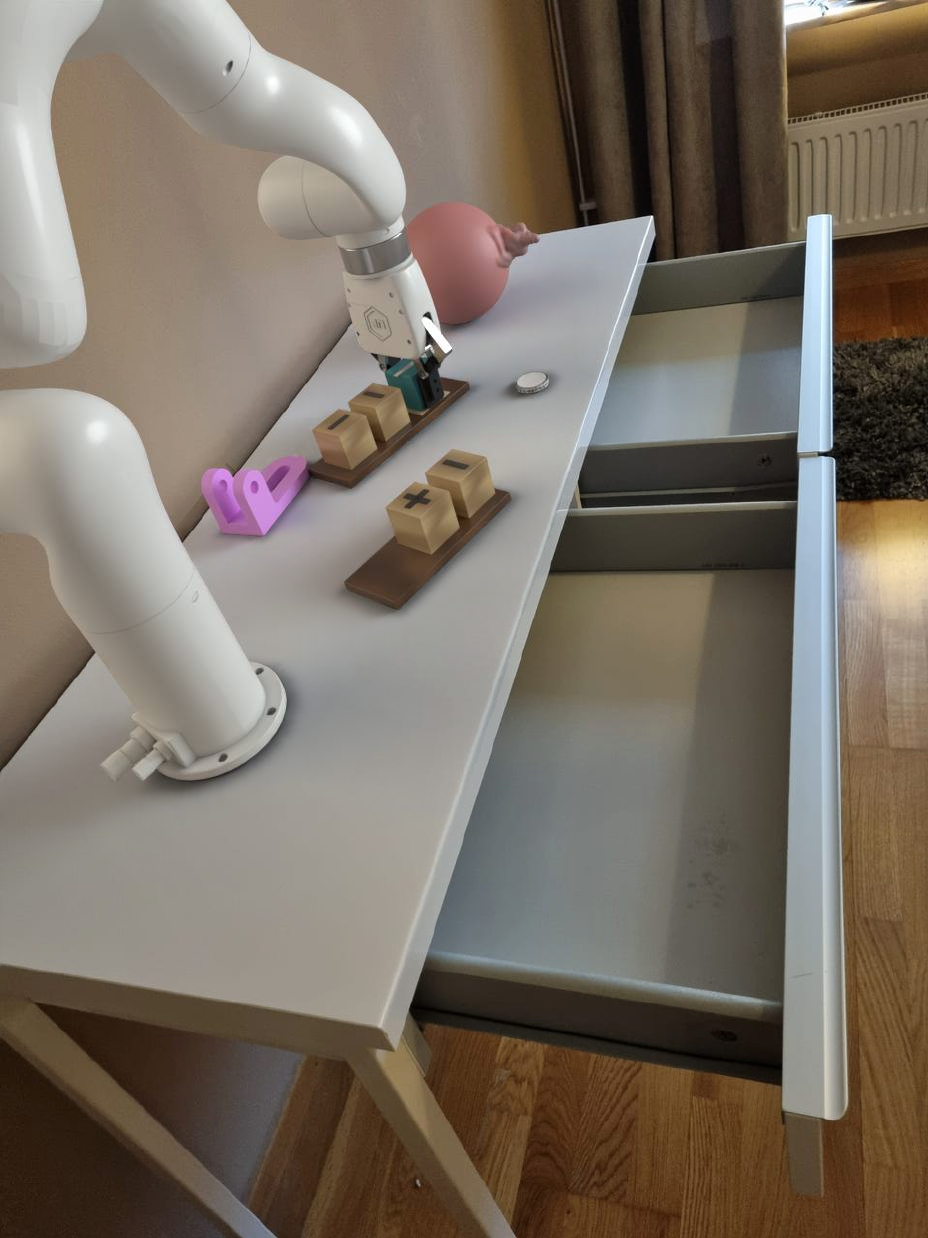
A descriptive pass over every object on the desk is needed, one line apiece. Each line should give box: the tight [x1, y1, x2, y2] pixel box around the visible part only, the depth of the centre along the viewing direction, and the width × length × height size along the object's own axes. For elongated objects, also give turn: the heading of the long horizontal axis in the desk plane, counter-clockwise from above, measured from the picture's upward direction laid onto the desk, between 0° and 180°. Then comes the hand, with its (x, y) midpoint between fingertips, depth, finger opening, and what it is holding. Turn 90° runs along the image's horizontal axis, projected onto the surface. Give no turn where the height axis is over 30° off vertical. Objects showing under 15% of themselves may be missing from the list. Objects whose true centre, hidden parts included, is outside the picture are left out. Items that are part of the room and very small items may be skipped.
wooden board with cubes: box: [343, 448, 512, 611], centre depth 86 cm, size 18×7×6 cm, turn 141°
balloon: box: [405, 201, 541, 325], centre depth 119 cm, size 15×20×15 cm
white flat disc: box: [514, 371, 550, 394], centre depth 107 cm, size 4×4×1 cm
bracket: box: [200, 455, 311, 537], centre depth 99 cm, size 13×6×7 cm, turn 159°
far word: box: [308, 376, 471, 489], centre depth 105 cm, size 22×7×6 cm, turn 141°
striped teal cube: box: [384, 354, 444, 411], centre depth 107 cm, size 5×4×5 cm
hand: (419, 397), depth 108 cm, fingers closed on striped teal cube, 4 cm apart
